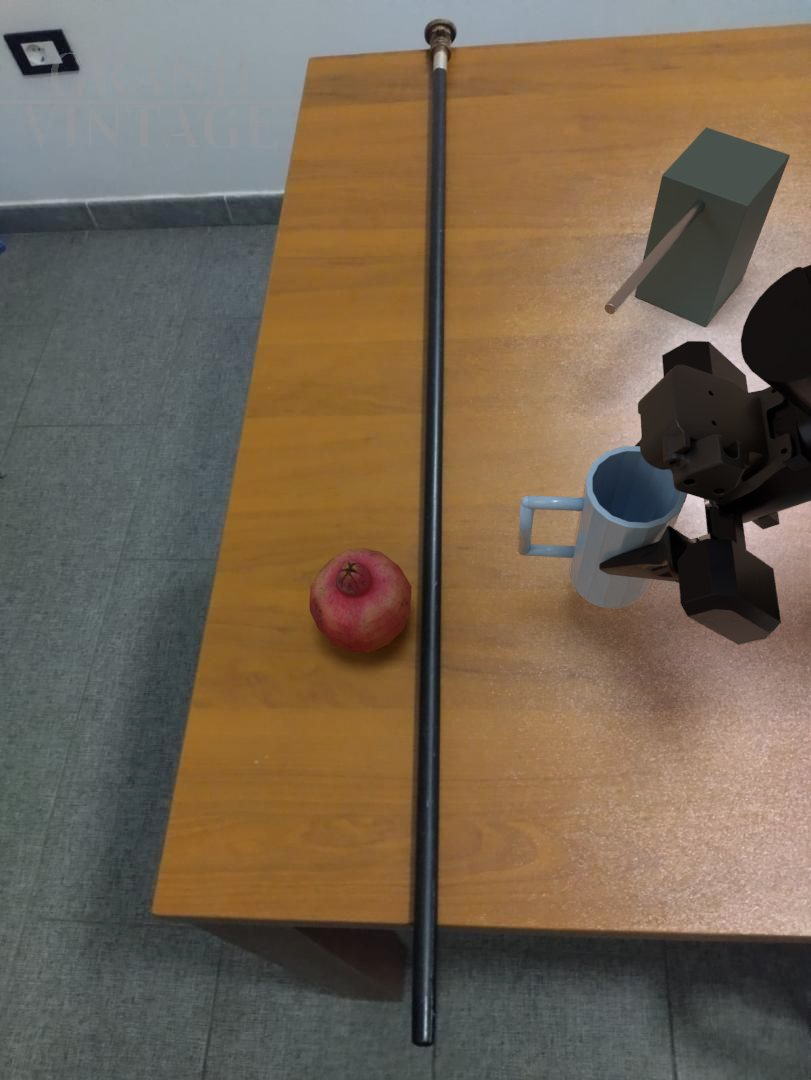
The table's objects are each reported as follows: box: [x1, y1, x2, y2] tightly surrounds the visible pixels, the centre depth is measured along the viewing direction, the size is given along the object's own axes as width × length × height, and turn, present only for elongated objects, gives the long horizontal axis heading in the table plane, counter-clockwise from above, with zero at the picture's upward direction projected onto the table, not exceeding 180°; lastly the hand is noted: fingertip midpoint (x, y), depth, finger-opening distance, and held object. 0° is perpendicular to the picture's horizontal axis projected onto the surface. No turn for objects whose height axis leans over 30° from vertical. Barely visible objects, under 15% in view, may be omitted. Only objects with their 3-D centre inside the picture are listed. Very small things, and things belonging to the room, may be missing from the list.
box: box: [604, 127, 791, 328], centre depth 69 cm, size 8×23×14 cm, turn 142°
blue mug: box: [517, 445, 688, 610], centre depth 52 cm, size 10×6×12 cm, turn 84°
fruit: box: [308, 547, 413, 653], centre depth 59 cm, size 8×8×10 cm
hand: (602, 527), depth 51 cm, fingers closed on blue mug, 6 cm apart
